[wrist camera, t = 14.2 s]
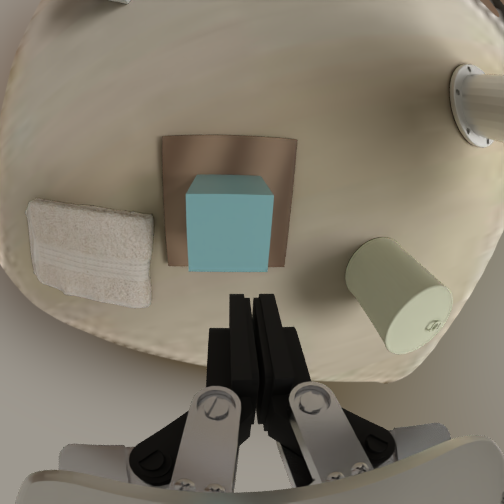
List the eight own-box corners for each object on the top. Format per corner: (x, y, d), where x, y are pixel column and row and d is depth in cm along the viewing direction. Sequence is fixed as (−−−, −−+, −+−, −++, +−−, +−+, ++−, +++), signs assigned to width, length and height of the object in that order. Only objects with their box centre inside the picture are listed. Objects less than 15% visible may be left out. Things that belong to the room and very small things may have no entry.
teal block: (260, 175, 26) (274, 195, 19) (256, 234, 29) (267, 271, 22) (196, 174, 25) (185, 193, 18) (197, 233, 28) (188, 271, 21)
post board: (294, 139, 25) (318, 144, 19) (282, 262, 32) (297, 300, 25) (164, 136, 24) (142, 140, 17) (169, 261, 30) (156, 300, 24)
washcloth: (33, 194, 25) (19, 202, 22) (158, 209, 28) (151, 219, 25) (42, 275, 30) (32, 286, 27) (154, 298, 33) (149, 313, 30)
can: (384, 301, 36) (425, 357, 26) (333, 292, 34) (370, 358, 24) (413, 246, 32) (467, 293, 22) (363, 229, 31) (419, 281, 20)
